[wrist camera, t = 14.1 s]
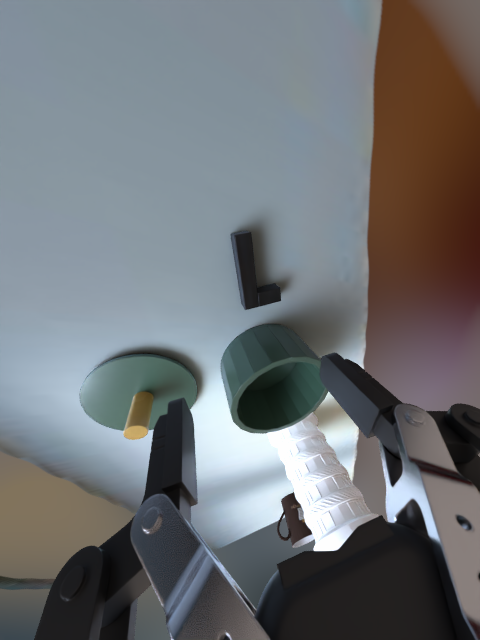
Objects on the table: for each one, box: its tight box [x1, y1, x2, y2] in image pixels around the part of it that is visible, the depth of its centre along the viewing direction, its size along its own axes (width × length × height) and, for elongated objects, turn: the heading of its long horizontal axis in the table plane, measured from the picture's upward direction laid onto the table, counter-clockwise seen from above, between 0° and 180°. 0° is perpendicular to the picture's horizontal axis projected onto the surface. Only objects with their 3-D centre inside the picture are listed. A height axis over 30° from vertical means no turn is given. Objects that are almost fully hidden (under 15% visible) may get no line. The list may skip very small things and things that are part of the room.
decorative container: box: [268, 412, 378, 551], centre depth 35 cm, size 12×12×18 cm
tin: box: [221, 324, 328, 433], centre depth 27 cm, size 14×14×8 cm
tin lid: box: [80, 354, 197, 440], centre depth 25 cm, size 15×15×6 cm
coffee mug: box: [277, 493, 315, 547], centre depth 59 cm, size 12×9×10 cm
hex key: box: [231, 231, 281, 310], centre depth 22 cm, size 8×5×2 cm, turn 8°
